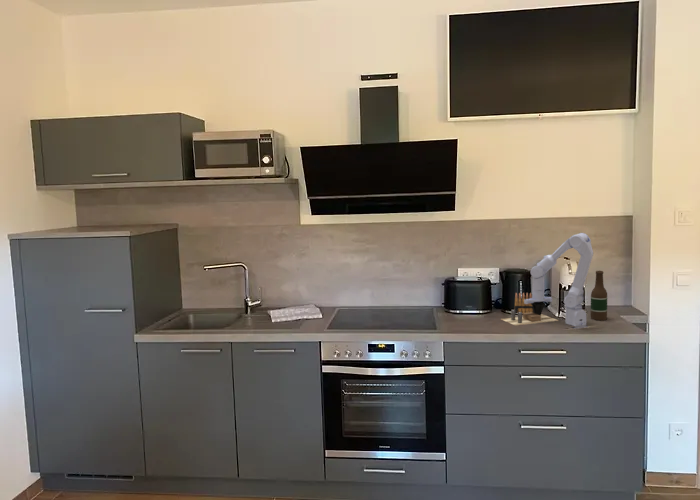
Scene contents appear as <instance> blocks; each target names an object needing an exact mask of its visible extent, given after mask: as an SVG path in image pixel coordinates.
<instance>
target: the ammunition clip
mask: <svg viewBox="0 0 700 500" xmlns="http://www.w3.org/2000/svg"><path fill="white" fill-rule="evenodd" d="M514 294H515V296H514V310H515V314H518V312H522V314H523V313H530V312H532V313H535V311H534V308H533V306H532V305H531V303H529V304H525V303H524V300H525V299H530V298H532V292H530V293H528V292H526V293H525V292H523V293H522V294H521V292H519V293H517V292H515V293H514ZM525 294H526V295H525Z"/></svg>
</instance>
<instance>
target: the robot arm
mask: <svg viewBox="0 0 700 500" xmlns="http://www.w3.org/2000/svg"><path fill="white" fill-rule="evenodd" d="M570 249H573V250H575V251H577V253H578V254H579V255H580V256H579V257H580V258H579V261H578V264H577V268H576V271H575V273H574V274H575V275H574V278H573V280H572V283H571V284H572V285H571V287H570V288H569V291H568V293H567V294H566V296H565V297H564V299H563V303H564V305H565V322H564V323H565V324H566V325H569V326H572V327H570V328H571V329H573V330H574V329H575V330H576V329H582V328H583V329H584V328H589V326H588V325H587V311H585V310H583V305H582V303H583V301H584V286H585V284H586V280H587V277H588V274H589V270H590V266H591V263H592V260H593V257H594V251H593V247H592V240H591V238H590V237H589V235H588V234H586V233H585V232H579V233H576V234H572V235H571V236H569V238H567V239H566V240H565V241H564V242H562V243H561V245H559V247H557V248H556V250H555V251H554V252H553V253H552V254H547V255H544V256H543V257H542V259H541V260H540V261H539V262H537V263H536V265H535V266H532V268H531V269H530V271H529V272H530V275H531V280H532V281H531V282H532V283H531V286H532V287H531V295H532V298H530V299H529V298H528V299H526V298H525V300H524V303H525V304H529V303H531V305H532V306H533V308H534V311H535V314H538V315H540V316H541V314H542V312H543V310H544V308H545V306H546V303H547V302H549V303H550V302H551V303H552V302H553V297H551V296H545V275H546V274H547V272H548V271H549V270H551V269H552V268H553V267H554V266H555V265H556V264H557V260H558V258H560V257H561V256H563V254H565V253H566V252H567V251H568V250H570Z"/></svg>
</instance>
